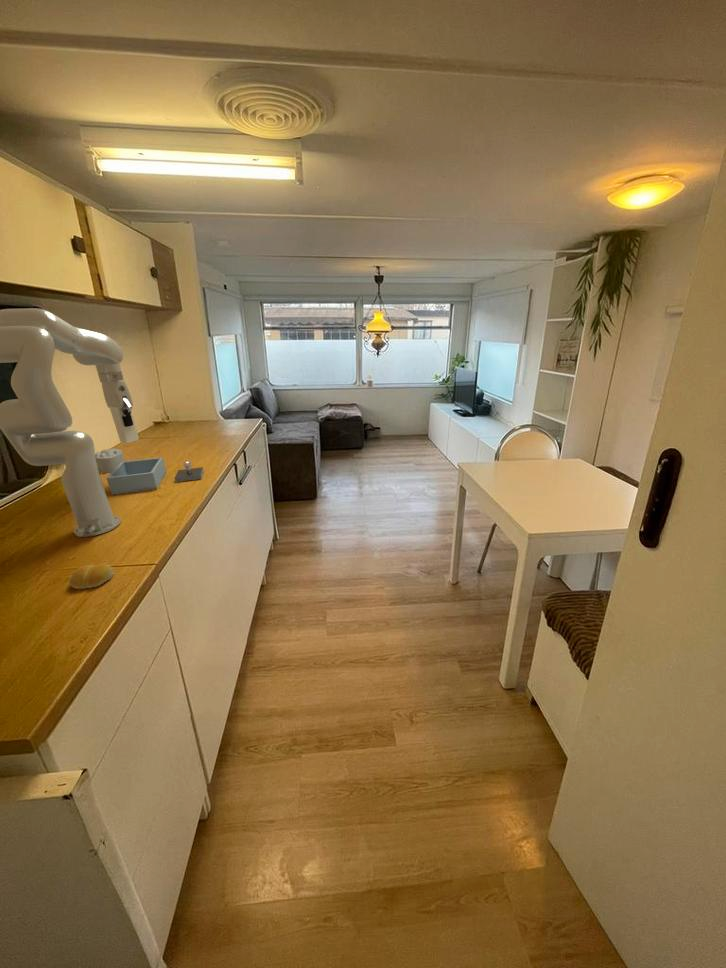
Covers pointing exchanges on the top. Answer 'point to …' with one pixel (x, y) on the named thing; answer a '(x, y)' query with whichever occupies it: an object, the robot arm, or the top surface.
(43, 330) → the robot arm
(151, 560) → the top surface
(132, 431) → the strut
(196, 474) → the stud base
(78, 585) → the bread roll
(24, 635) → the top surface
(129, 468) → the bin
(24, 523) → the top surface
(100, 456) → the lumpy-topped squat cylinder
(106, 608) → the top surface
